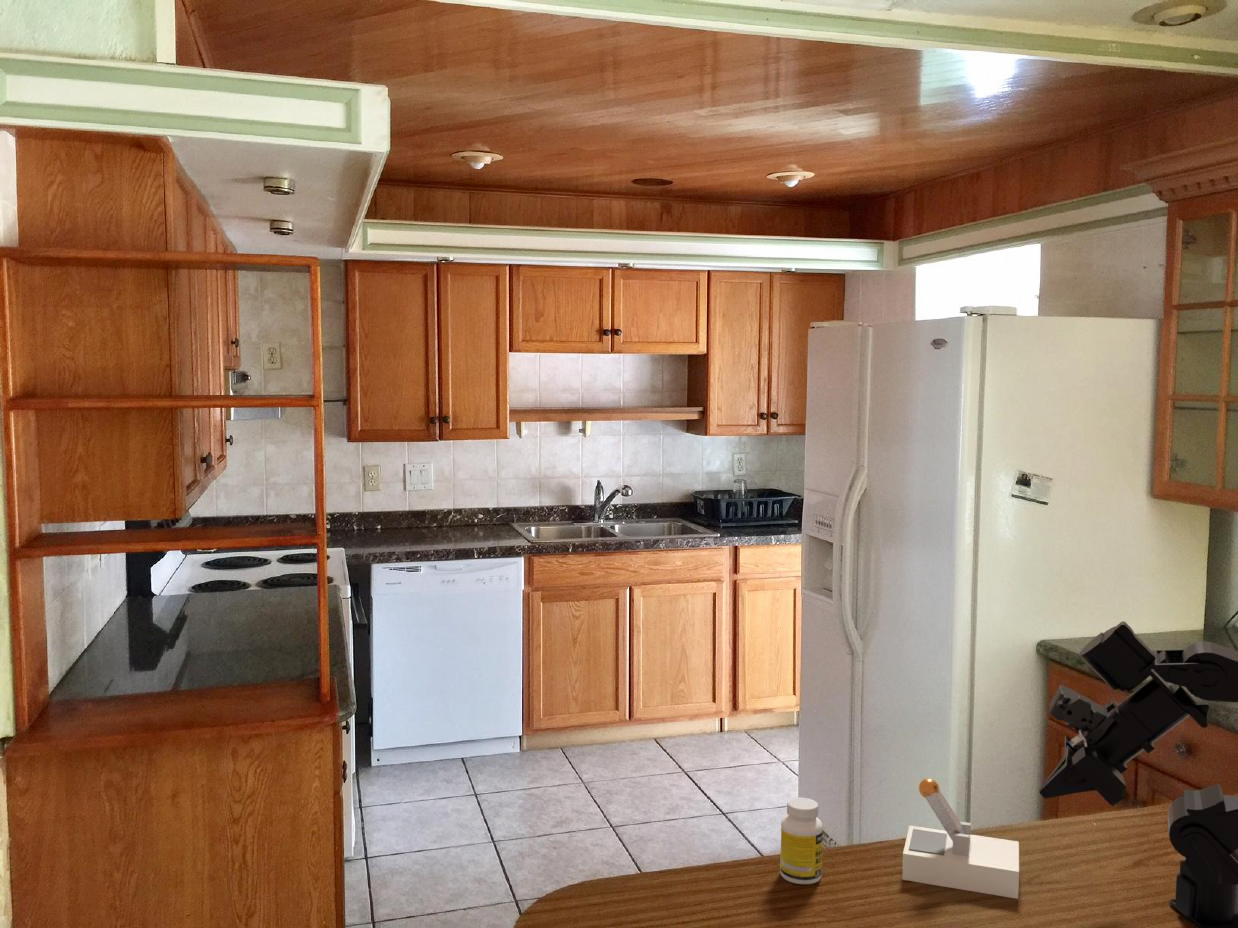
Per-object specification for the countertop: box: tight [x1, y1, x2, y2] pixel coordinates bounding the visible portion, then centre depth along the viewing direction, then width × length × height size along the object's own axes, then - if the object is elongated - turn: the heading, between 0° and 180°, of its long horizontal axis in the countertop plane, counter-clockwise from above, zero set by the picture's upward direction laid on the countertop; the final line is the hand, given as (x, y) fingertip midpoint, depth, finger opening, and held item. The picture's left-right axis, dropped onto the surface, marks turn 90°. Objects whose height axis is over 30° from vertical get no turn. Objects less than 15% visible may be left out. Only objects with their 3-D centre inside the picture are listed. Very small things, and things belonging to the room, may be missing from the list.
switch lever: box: [918, 778, 965, 841], centre depth 135 cm, size 3×3×10 cm
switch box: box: [902, 821, 1020, 900], centre depth 135 cm, size 14×9×6 cm, turn 69°
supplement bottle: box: [779, 797, 824, 885], centre depth 134 cm, size 5×5×10 cm
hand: (1041, 794), depth 131 cm, fingers closed
